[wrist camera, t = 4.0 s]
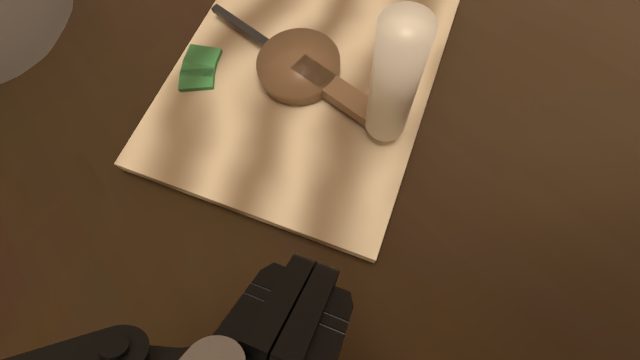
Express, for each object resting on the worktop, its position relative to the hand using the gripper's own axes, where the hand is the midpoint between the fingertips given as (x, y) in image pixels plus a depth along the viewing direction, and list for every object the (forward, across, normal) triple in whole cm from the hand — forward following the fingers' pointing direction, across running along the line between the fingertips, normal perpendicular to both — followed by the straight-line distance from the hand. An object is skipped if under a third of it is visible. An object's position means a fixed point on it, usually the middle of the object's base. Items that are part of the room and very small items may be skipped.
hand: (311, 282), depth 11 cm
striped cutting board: (+22, +9, -1) cm, 24 cm away
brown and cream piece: (+21, +9, -2) cm, 23 cm away
